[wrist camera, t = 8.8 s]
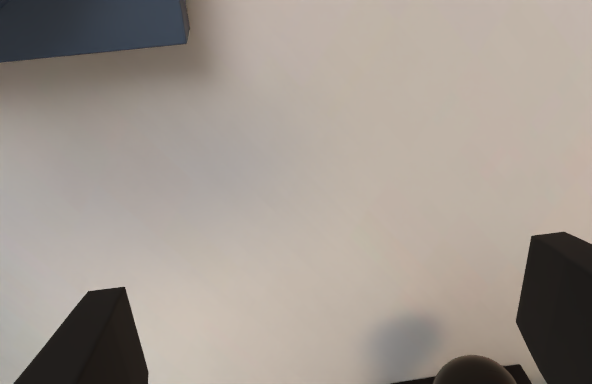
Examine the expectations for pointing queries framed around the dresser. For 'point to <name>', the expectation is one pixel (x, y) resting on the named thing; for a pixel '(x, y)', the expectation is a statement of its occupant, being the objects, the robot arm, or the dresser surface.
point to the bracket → (514, 370)
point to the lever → (473, 372)
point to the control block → (88, 26)
